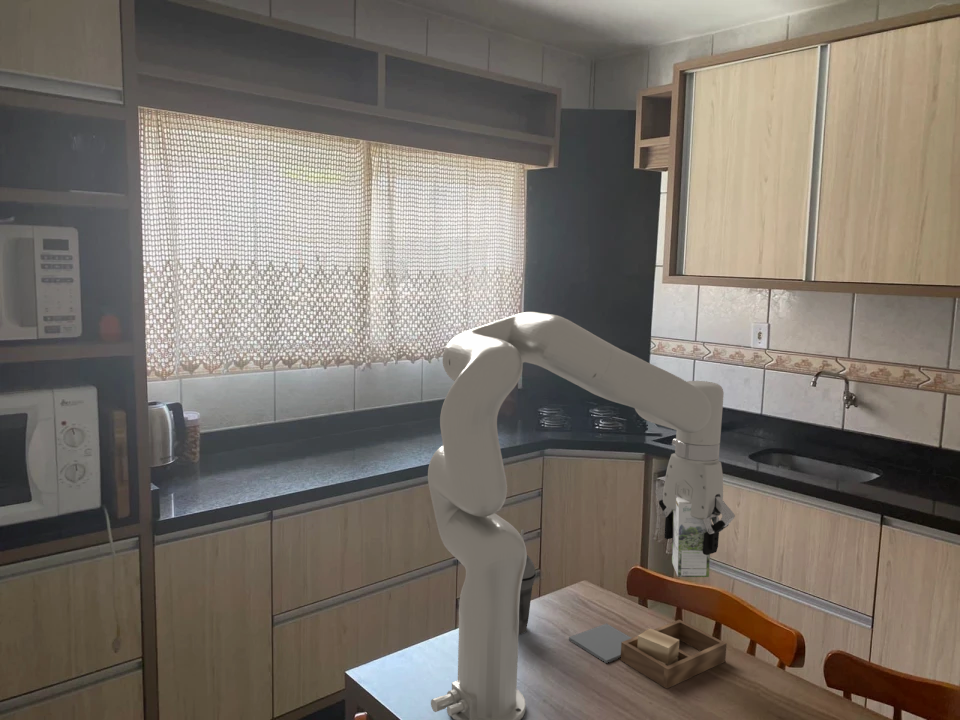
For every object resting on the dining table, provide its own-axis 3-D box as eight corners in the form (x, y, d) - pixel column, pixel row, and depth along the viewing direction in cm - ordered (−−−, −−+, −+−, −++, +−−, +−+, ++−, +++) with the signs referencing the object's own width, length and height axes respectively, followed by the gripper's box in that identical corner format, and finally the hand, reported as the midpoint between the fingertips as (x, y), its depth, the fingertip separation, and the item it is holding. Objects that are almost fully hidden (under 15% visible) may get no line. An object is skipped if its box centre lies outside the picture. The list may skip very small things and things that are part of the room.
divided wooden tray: (666, 688, 126) (667, 669, 126) (620, 660, 135) (621, 642, 135) (725, 661, 136) (726, 643, 135) (678, 636, 144) (679, 619, 144)
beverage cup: (489, 627, 146) (491, 530, 143) (515, 616, 151) (518, 521, 148) (515, 642, 141) (518, 541, 138) (541, 630, 145) (545, 532, 143)
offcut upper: (667, 664, 129) (668, 648, 129) (637, 651, 133) (638, 635, 133) (678, 655, 132) (679, 639, 131) (648, 643, 136) (649, 628, 136)
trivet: (606, 663, 134) (606, 660, 134) (568, 639, 142) (569, 637, 142) (644, 648, 140) (644, 645, 140) (606, 626, 148) (606, 623, 148)
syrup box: (702, 563, 138) (704, 489, 135) (710, 578, 132) (711, 501, 130) (671, 563, 138) (672, 489, 136) (677, 578, 132) (678, 501, 130)
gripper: (645, 442, 137) (639, 534, 139) (725, 465, 123) (717, 566, 125) (672, 438, 141) (666, 527, 143) (752, 459, 127) (744, 557, 129)
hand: (690, 544), depth 134 cm, fingers closed on syrup box, 8 cm apart
